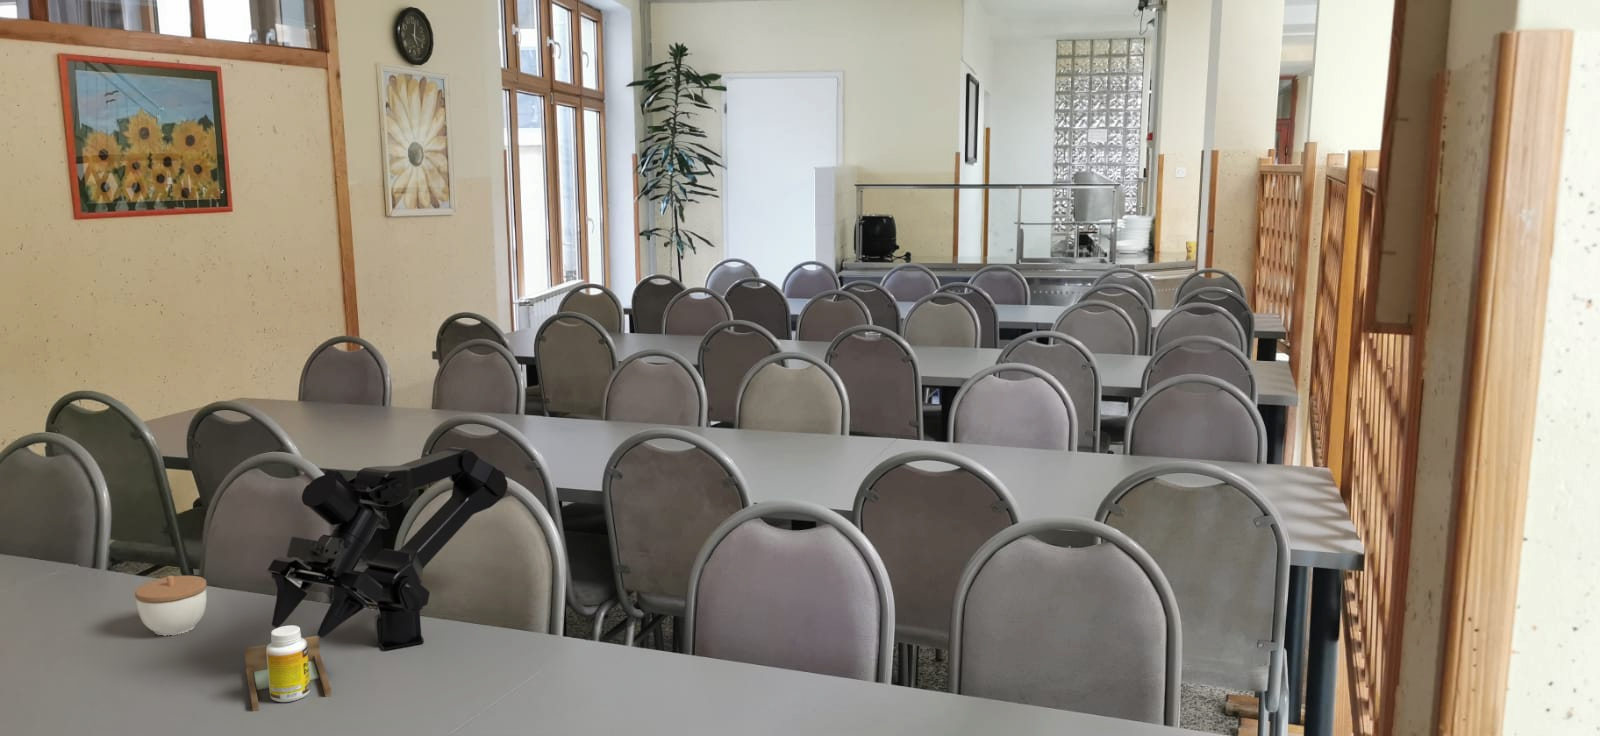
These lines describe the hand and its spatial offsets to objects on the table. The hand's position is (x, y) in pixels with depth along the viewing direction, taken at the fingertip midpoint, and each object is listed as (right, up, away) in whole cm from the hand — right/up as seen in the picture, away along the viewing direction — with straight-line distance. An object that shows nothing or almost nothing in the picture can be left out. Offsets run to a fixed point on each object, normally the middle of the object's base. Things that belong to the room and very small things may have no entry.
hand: (296, 631), depth 173 cm
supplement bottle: (-1, -10, 0) cm, 10 cm away
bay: (-3, -9, +4) cm, 10 cm away
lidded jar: (-32, -5, +25) cm, 41 cm away
